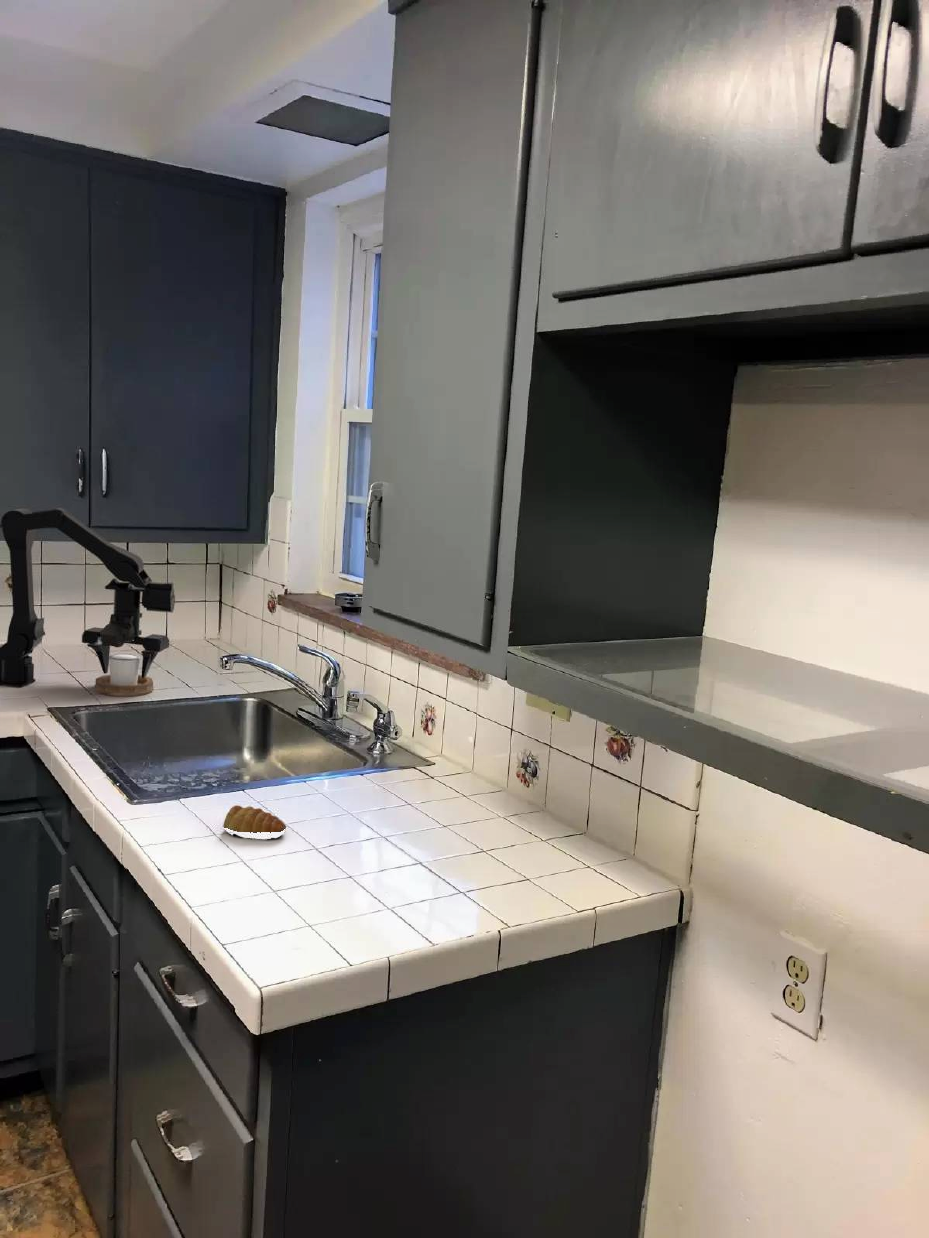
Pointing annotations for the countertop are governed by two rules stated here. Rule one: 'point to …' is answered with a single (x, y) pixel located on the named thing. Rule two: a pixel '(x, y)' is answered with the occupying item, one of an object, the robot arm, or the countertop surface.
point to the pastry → (252, 820)
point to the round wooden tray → (123, 687)
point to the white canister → (124, 669)
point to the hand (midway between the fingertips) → (124, 675)
